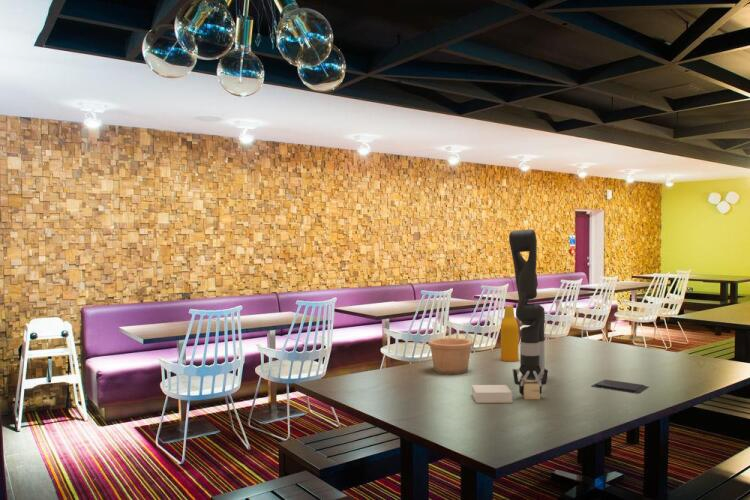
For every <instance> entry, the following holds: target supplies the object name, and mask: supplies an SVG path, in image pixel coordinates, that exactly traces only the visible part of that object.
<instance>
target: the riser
mask: <svg viewBox="0 0 750 500" xmlns="http://www.w3.org/2000/svg"><path fill="white" fill-rule="evenodd" d="M471 396H472V398H473V399H474V401H475V403H476V404H477V403H478V404H479V403H480V404H482V403H483V404H485V403H487V404H488V403H489V404H494V403H495V404H497V403H499V404H500V403H501V404H502V403H504V404H507V403H508V404H509V403H513V391H512V390H511V389H510V388H509V387H508V386H507V384H472V385H471Z"/></svg>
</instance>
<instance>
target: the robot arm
mask: <svg viewBox="0 0 750 500" xmlns="http://www.w3.org/2000/svg"><path fill="white" fill-rule="evenodd" d="M508 241H509V242H508V243H509V248H510V252H511V256H512V257H511V258H512V260H513V269H514V277H515V285H516V290H517V295H518V301H517V302H518V303H517V305H516V309H515V316H516V317H515V318H517V320H518V321H519V322H521V324H522V325H524V326H523V327H522V328H521V329H520V346H519V349H520V350H519V353H520V354H519V355H520V357H519V358H520V365H519V368H516V369H515V368H512V375H513V382H514V384H515V385H518V387H519V388H518V392H519V394H520V396H522V395H524V389H523V383H524V382H525V381H527V380H534V381H536V382H537V383H539V384H540V395H541V394H542V391H543V390H542V386H543V385H547V381H548V375H549V374H548V373H549V370H547V368H545V367H546V365H545V361H546V359H545V358H546V356H545V354H546V353H545V348H546V347H545V319H546V313H545V312H546V311H545V308H544V306H543V305H541V304H539V303H529V301H530V300H534V299H536V297H537V296H538V291H537V288H538V285H539V284H538V275H537V257H538V254H537V252H538V251H537V250H538V249H537V248H538V247H537V245H538V243H537V235H536V232H535V230H534V229H532V228H530V229H521V230H520V229H519V230H512V231H510V233H509V236H508ZM522 252H524V253H525V252H529V253H528V258H527V260H526V259H525V258H524V257H523V256H522ZM520 373H521V377H520V379H519V378H518V375H519V374H520Z"/></svg>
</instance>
